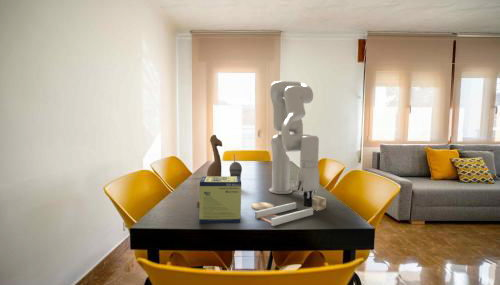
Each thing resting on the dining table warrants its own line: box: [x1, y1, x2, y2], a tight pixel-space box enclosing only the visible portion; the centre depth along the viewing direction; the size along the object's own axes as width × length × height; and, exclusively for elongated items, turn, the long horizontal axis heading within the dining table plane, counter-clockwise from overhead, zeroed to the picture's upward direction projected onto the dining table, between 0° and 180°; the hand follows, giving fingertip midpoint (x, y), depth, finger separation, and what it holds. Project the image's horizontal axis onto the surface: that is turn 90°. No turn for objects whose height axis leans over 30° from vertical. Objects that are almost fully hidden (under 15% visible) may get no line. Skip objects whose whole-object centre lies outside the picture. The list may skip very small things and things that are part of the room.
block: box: [305, 194, 327, 212], centre depth 114 cm, size 6×6×5 cm
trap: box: [258, 214, 280, 224], centre depth 99 cm, size 7×8×1 cm
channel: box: [254, 201, 314, 227], centre depth 103 cm, size 22×10×2 cm, turn 127°
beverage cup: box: [229, 154, 243, 179], centre depth 146 cm, size 7×7×20 cm
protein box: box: [198, 175, 242, 224], centre depth 99 cm, size 10×16×16 cm
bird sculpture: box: [196, 134, 223, 207], centre depth 117 cm, size 11×12×32 cm
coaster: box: [250, 201, 275, 211], centre depth 115 cm, size 10×10×1 cm
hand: (307, 206), depth 111 cm, fingers closed
